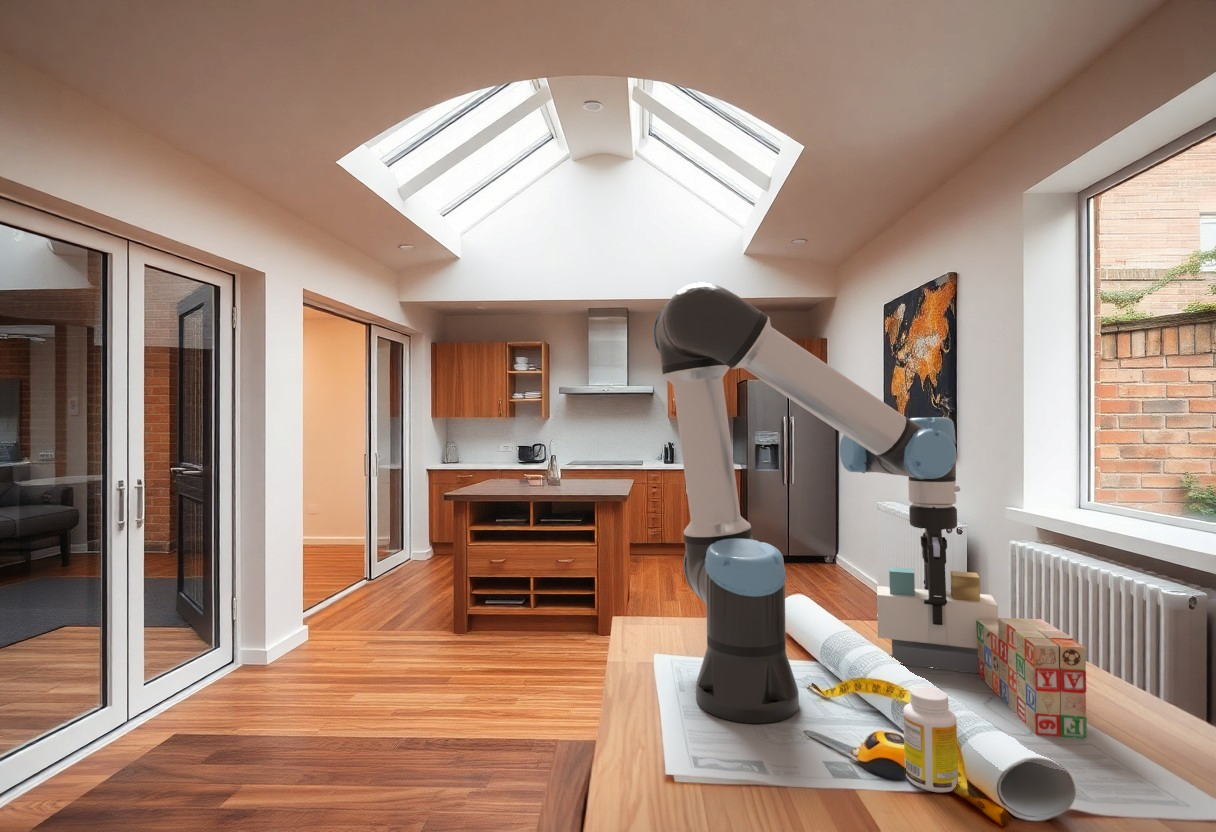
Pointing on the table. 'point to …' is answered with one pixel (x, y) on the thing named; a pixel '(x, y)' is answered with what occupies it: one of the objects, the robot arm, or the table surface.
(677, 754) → the table surface
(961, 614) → the off-white rectangular block
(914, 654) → the block
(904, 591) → the teal cube
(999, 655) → the stack of blocks
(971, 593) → the golden brown cube
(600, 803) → the table surface
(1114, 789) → the table surface
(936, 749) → the supplement bottle
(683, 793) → the table surface
